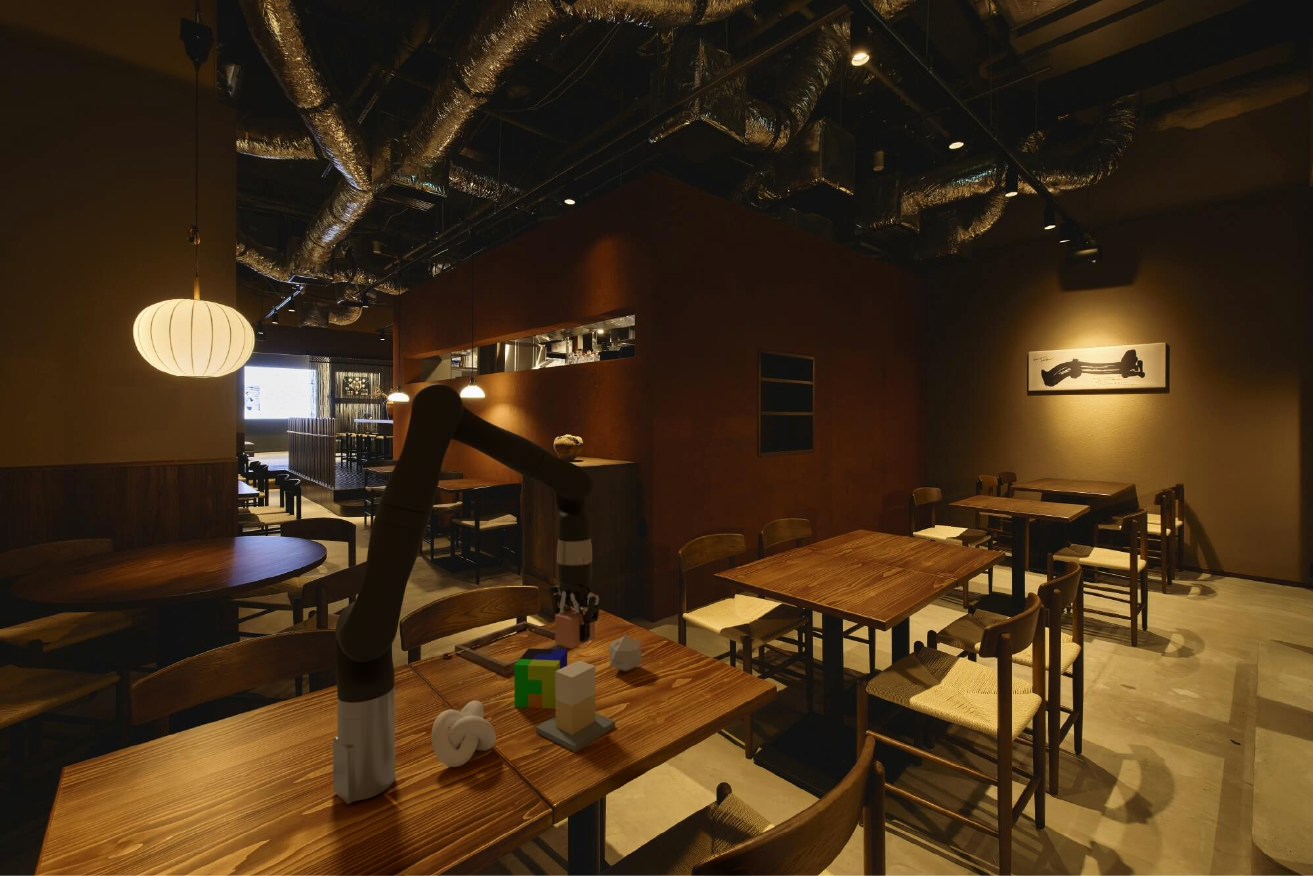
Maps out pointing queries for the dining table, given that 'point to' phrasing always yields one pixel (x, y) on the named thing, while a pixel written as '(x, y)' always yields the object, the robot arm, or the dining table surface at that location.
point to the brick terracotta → (570, 629)
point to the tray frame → (488, 661)
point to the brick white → (575, 682)
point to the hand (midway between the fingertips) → (575, 637)
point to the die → (625, 653)
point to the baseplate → (579, 737)
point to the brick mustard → (575, 715)
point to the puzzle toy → (538, 677)
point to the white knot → (461, 734)
